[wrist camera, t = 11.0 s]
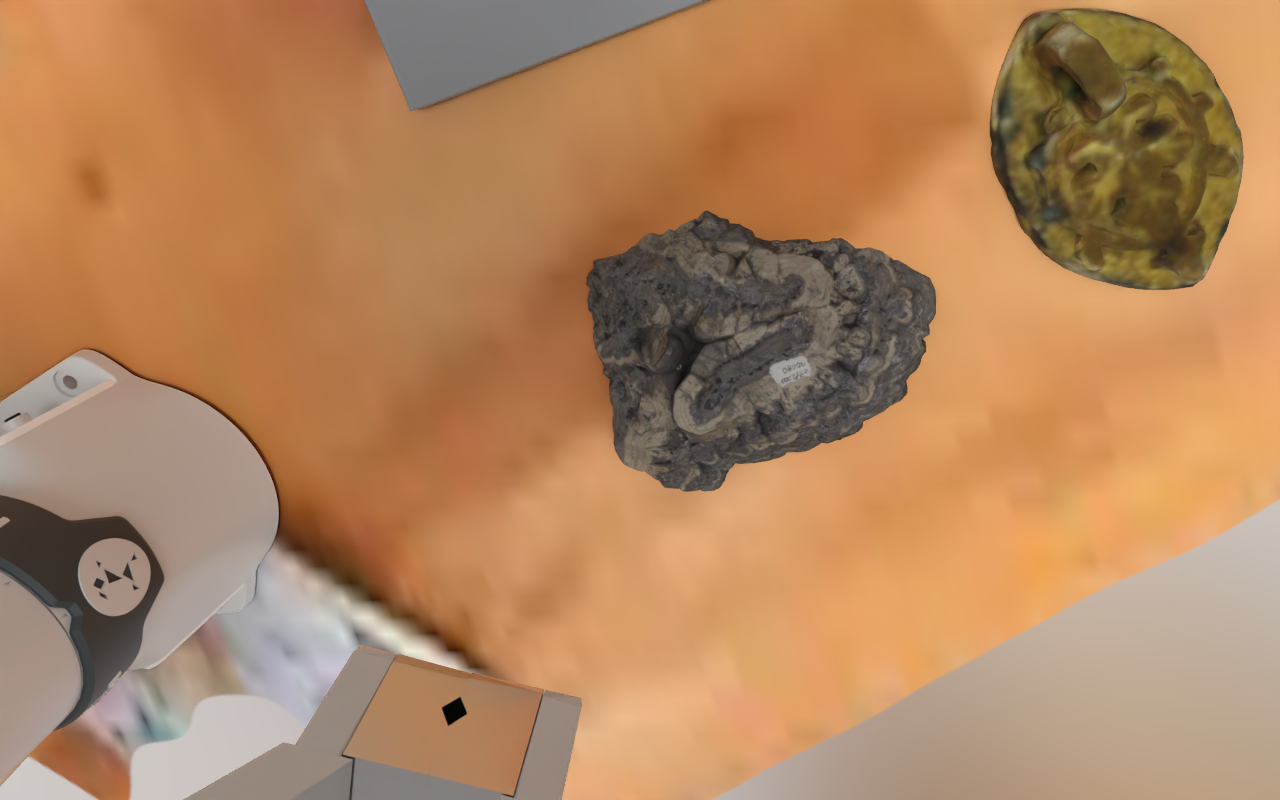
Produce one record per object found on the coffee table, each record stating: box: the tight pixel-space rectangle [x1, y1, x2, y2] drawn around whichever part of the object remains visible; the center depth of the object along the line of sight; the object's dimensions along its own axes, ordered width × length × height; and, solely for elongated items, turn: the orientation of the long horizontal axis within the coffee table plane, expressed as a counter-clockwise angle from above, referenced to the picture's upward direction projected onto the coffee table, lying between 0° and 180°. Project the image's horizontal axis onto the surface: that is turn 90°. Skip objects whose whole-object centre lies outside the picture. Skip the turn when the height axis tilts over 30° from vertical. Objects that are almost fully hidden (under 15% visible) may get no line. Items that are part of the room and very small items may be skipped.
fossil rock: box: [586, 211, 936, 492], centre depth 39 cm, size 19×4×15 cm
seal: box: [990, 9, 1243, 290], centre depth 33 cm, size 9×5×15 cm
